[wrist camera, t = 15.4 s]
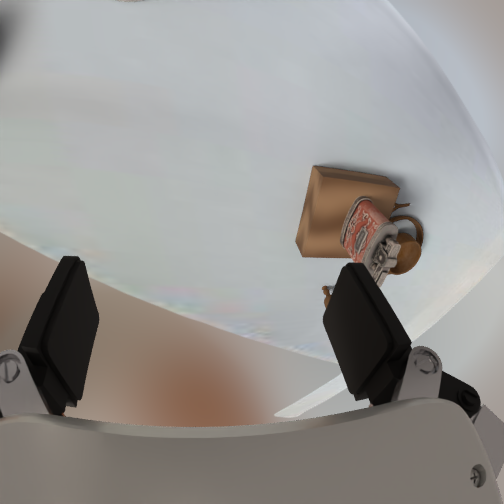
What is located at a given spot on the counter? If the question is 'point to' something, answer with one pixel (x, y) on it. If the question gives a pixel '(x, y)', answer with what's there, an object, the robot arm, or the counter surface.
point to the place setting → (406, 254)
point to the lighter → (370, 238)
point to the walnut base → (337, 207)
